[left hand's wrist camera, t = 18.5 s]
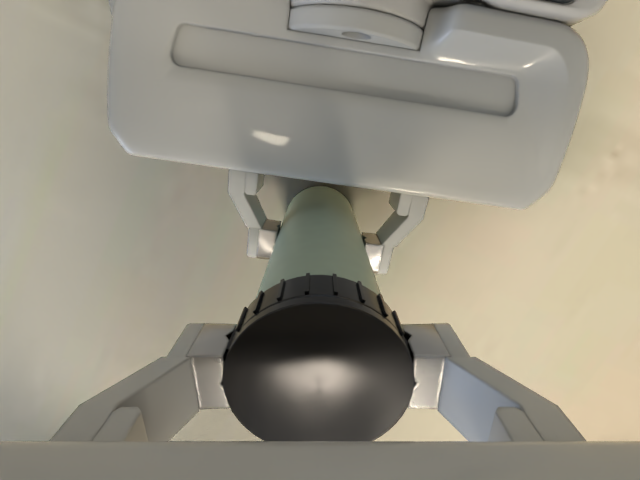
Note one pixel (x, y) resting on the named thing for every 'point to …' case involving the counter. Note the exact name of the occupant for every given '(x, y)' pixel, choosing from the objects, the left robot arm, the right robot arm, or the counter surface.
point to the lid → (318, 363)
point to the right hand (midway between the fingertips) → (318, 262)
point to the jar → (319, 241)
